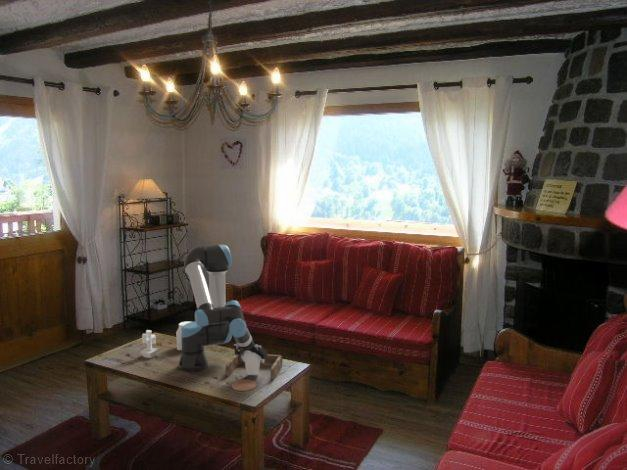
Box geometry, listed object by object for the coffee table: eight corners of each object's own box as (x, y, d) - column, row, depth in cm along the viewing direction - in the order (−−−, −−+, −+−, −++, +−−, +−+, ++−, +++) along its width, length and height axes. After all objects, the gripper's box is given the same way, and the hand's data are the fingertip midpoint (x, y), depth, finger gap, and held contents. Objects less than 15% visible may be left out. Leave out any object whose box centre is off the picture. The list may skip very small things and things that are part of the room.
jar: (173, 349, 295) (172, 324, 293) (184, 344, 303) (184, 319, 301) (189, 352, 290) (188, 327, 288) (200, 347, 298) (199, 322, 296)
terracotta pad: (236, 379, 253) (236, 378, 253) (259, 381, 251) (259, 380, 250) (228, 389, 241) (228, 388, 241) (252, 391, 239) (252, 390, 239)
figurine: (160, 354, 286) (159, 328, 284) (149, 360, 278) (148, 333, 276) (150, 352, 289) (148, 327, 287) (138, 358, 280) (137, 332, 278)
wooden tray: (237, 362, 274) (237, 352, 273) (282, 366, 270) (282, 355, 269) (226, 376, 257) (225, 364, 256) (273, 379, 252) (273, 368, 252)
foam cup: (252, 367, 264) (251, 343, 262) (265, 371, 258) (265, 347, 257) (239, 373, 256) (239, 348, 254) (253, 377, 251) (253, 352, 249)
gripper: (220, 346, 242) (232, 365, 259) (265, 349, 238) (273, 368, 255) (224, 331, 246) (235, 351, 264) (268, 334, 242) (276, 354, 260)
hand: (254, 360), depth 259 cm, fingers closed on foam cup, 9 cm apart
